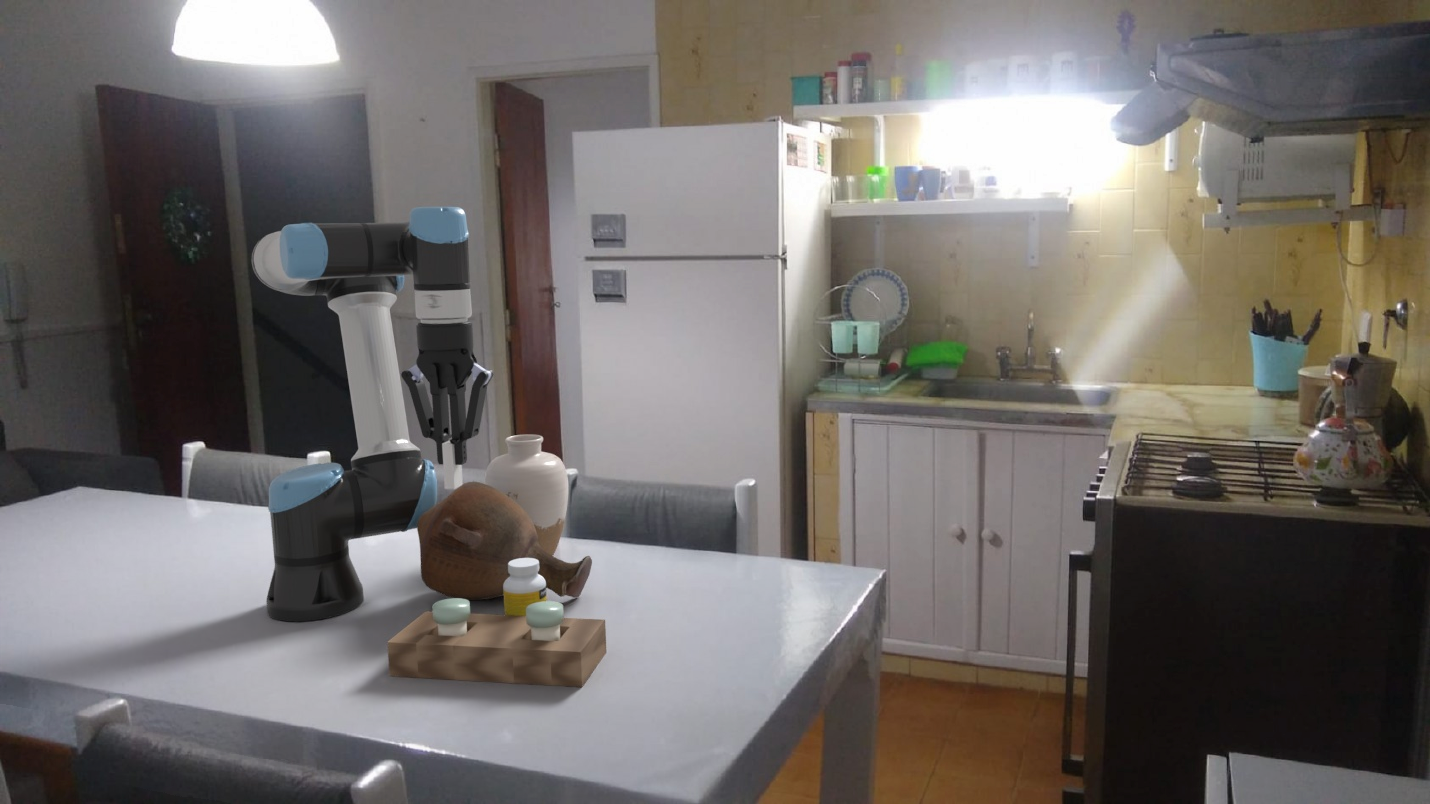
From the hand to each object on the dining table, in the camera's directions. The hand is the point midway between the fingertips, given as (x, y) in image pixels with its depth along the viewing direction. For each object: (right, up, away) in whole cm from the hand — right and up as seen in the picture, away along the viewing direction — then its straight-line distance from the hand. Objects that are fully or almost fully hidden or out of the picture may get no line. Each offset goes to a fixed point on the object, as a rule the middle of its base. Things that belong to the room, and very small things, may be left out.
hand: (453, 486), depth 147 cm
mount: (+6, -26, +2) cm, 26 cm away
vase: (+1, -17, +54) cm, 57 cm away
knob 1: (-1, -25, +3) cm, 25 cm away
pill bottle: (+8, -24, +12) cm, 28 cm away
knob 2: (+13, -25, 0) cm, 28 cm away
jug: (+2, -21, +29) cm, 36 cm away
